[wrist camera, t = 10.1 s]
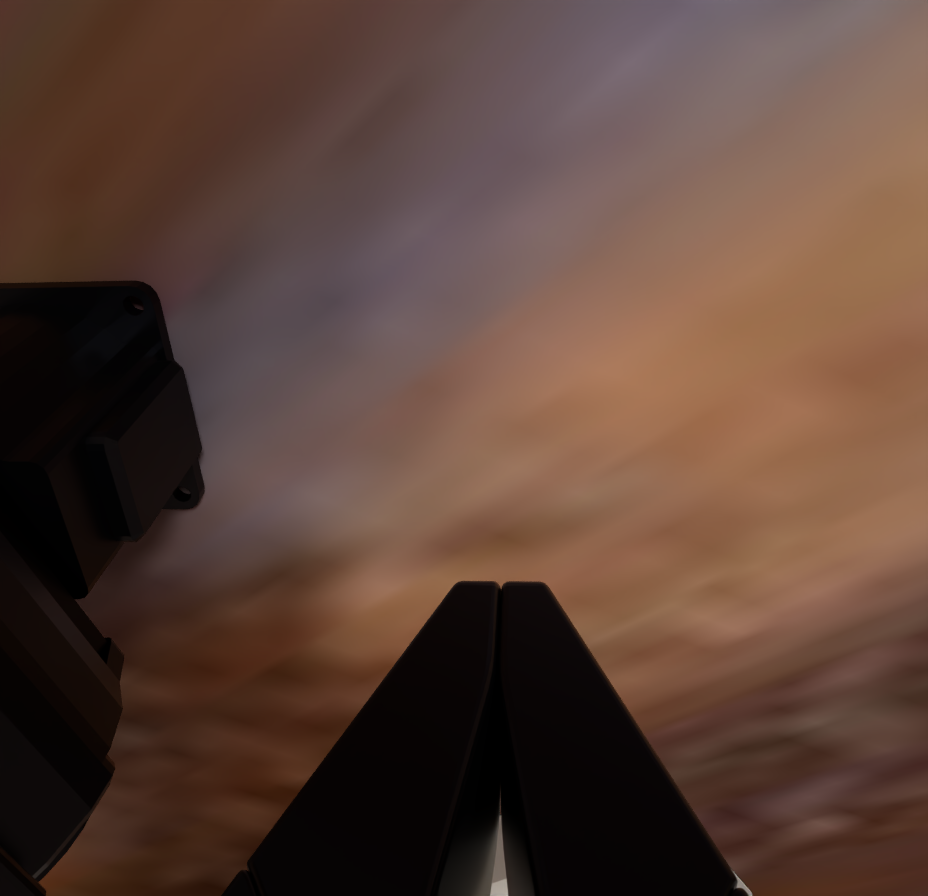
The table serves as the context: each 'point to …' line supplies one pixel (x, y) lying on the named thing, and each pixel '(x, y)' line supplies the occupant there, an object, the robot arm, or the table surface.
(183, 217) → the table surface
